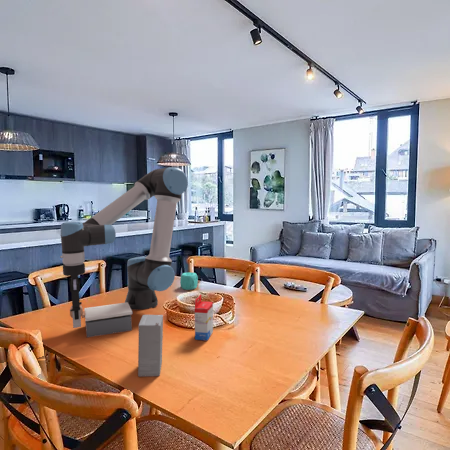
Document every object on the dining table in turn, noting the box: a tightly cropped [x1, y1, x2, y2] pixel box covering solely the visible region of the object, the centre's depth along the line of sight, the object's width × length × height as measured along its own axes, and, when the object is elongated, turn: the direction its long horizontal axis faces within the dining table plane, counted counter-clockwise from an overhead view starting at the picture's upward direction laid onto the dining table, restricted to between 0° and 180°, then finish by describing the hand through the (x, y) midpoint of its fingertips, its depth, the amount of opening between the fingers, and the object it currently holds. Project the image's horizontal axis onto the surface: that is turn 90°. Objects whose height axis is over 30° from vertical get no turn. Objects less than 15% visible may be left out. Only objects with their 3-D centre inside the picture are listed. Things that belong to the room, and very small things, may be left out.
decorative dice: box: [179, 271, 199, 291], centre depth 193 cm, size 8×8×8 cm
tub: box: [85, 314, 133, 338], centre depth 134 cm, size 16×12×6 cm
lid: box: [69, 302, 133, 321], centre depth 133 cm, size 22×13×4 cm, turn 114°
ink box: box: [194, 294, 214, 341], centre depth 127 cm, size 8×5×15 cm, turn 168°
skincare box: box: [137, 314, 164, 378], centre depth 103 cm, size 8×7×16 cm
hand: (77, 324), depth 130 cm, fingers closed on lid, 4 cm apart
